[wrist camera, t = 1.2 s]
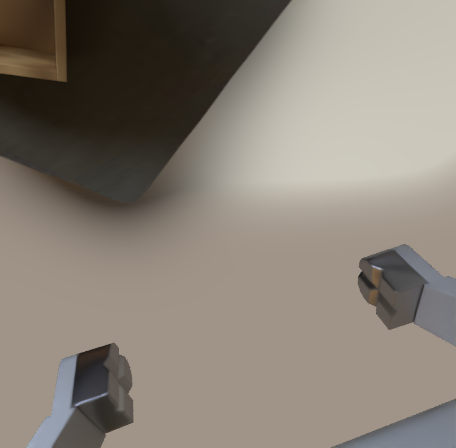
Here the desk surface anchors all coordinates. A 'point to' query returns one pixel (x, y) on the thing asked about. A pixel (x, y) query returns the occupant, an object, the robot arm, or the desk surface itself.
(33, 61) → the wooden tray
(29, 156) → the desk surface
